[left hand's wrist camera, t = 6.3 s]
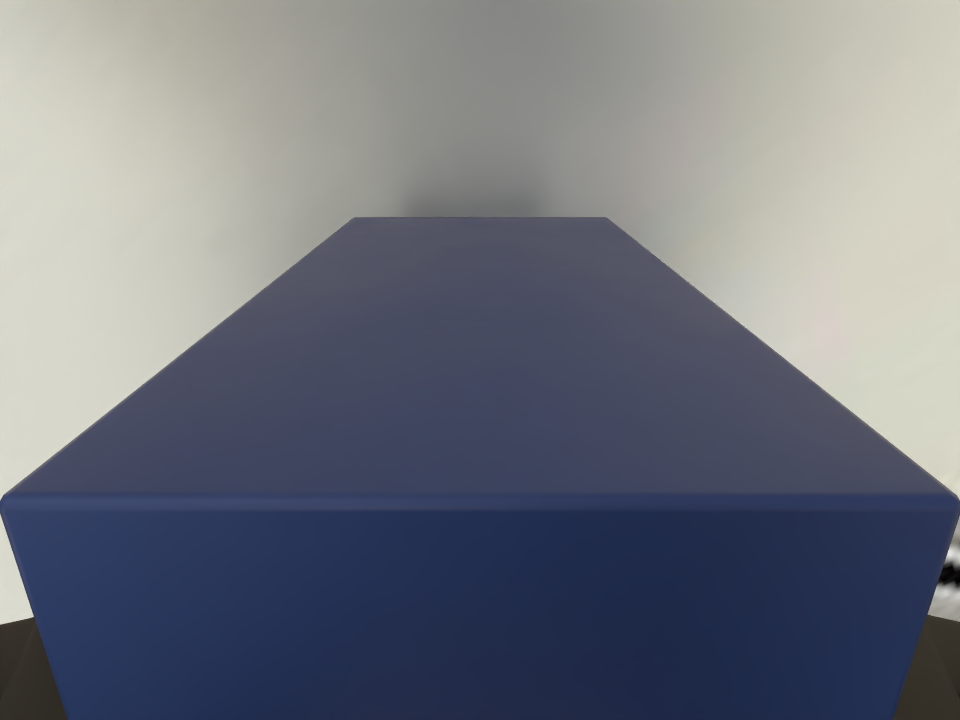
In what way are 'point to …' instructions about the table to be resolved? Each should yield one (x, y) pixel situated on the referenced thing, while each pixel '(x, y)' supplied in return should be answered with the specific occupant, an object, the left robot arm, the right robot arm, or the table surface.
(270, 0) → the table surface
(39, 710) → the left robot arm
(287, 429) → the box
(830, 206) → the table surface
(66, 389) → the table surface
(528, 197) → the table surface
